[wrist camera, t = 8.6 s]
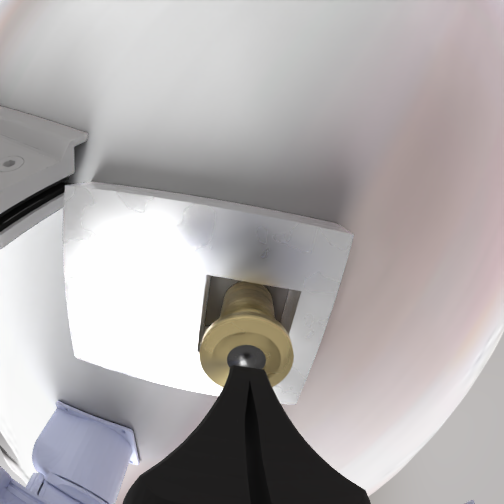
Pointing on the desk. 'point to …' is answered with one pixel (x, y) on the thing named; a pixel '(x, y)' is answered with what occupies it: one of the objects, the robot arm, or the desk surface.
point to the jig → (188, 278)
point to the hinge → (32, 169)
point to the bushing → (246, 336)
